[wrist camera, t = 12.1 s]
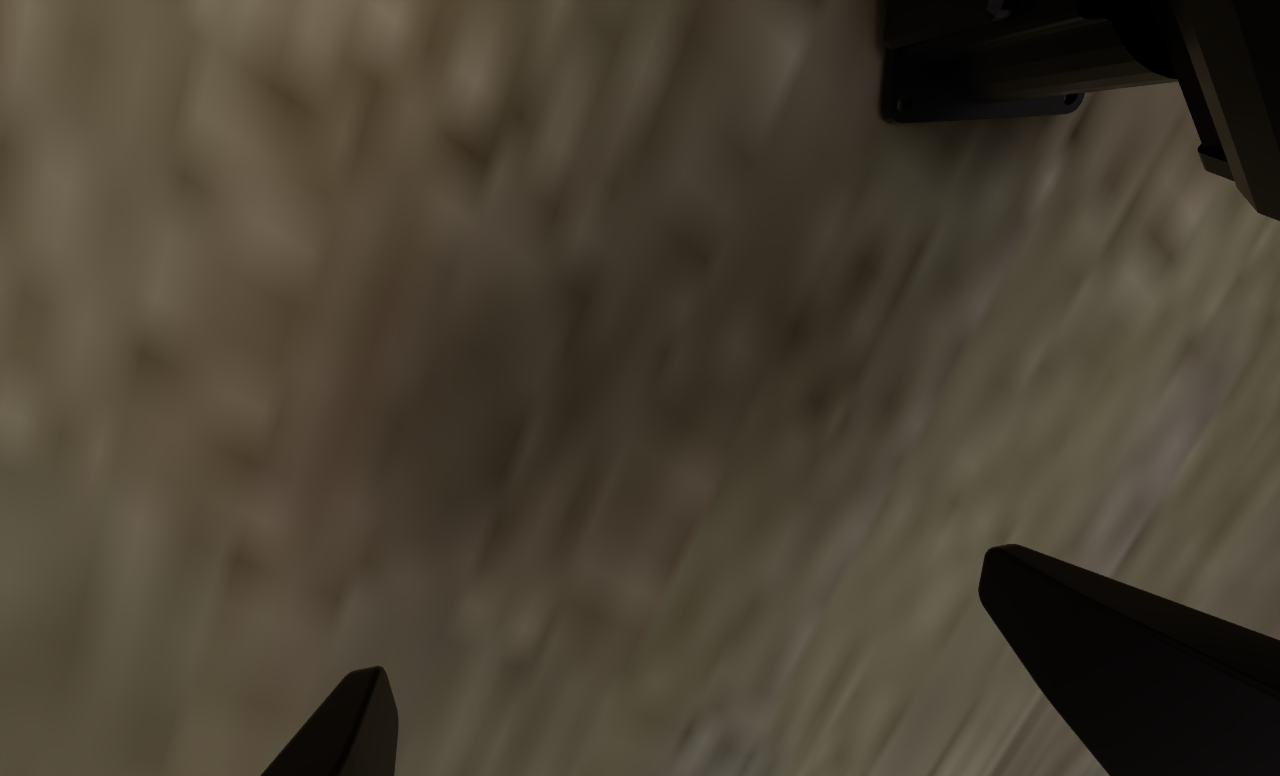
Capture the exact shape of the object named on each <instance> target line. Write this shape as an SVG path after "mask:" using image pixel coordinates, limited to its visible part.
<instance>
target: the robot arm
mask: <svg viewBox="0 0 1280 776" xmlns="http://www.w3.org/2000/svg"><path fill="white" fill-rule="evenodd" d="M884 41H885V43H886V56H885V68H884V79H883V91H882V103H881V110H882V115H883V117H884V119H885V120H886V121H887V122H889V123H892V124H905V123H922V122H939V121H957V120H974V119H991V118H1008V117H1026V116H1043V115H1059V114H1068V113H1071V112H1073V111H1075V110H1076V109H1077V108H1078V107H1079V105H1080V104H1081V103H1082V100H1083V98H1084V95H1085V92H1093V91H1101V90H1110V89H1118V88H1127V87H1135V86H1144V85H1152V84H1161V83H1170V82H1178V81H1179V84H1180V87H1181V89H1182V92H1183V95H1184V97H1185V100H1186V103H1187V105H1188V108H1189V111H1190V113H1191V116H1192V119H1193V121H1194V124H1195V127H1196V129H1197V132H1198V135H1199V137H1200V140H1201V143H1202V144H1201V145H1200V146H1199V147H1198V153H1199V156H1200V158H1201V161H1202V164H1203V166H1204V169H1205V170H1206V171H1208V172H1211V173H1214V174H1216V175H1219V176H1222V177H1225V178H1227V179H1230V180H1233V181H1235V183H1236V186H1237V188H1238V190H1239V191H1240V192H1241V193H1242V194H1243V196H1244V197H1245V198H1246V199H1247V200H1248V202H1249V203H1250V204H1251V205H1252V206H1253V207H1254V209H1255V210H1256V211H1257V212H1258V213H1260V214H1263V215H1265V216H1268V217H1270V218H1273V219H1276V220H1278V221H1280V0H887V6H886V18H885V29H884ZM1063 95H1066V99H1065V101H1064V102H1063ZM900 97H902V98H903V99H904V102H905V106H904V109H903V111H902V112H901V113H900V112H899V111H898V109H897V103H898V100H899V98H900ZM978 592H979V597H980V600H981V603H982V605H983V606H984V608H985V610H986V611H987V612H988V614H989V615H990V617H991V618H992V620H993V621H994V623H995V624H996V626H997V627H998V629H999V630H1000V631H1001V633H1002V634H1003V636H1004V637H1005V639H1006V640H1007V642H1008V643H1009V645H1010V646H1011V647H1012V649H1013V650H1014V652H1015V653H1016V655H1017V656H1018V658H1019V659H1020V661H1021V662H1022V663H1023V665H1024V666H1025V668H1026V669H1027V671H1028V672H1029V674H1030V675H1031V677H1032V678H1033V680H1034V681H1035V682H1036V684H1037V685H1038V687H1039V688H1040V689H1041V691H1042V692H1043V693H1044V695H1045V696H1046V698H1047V699H1048V700H1049V701H1050V703H1051V704H1052V705H1053V707H1054V708H1055V709H1056V710H1057V712H1058V713H1059V714H1060V715H1061V717H1062V718H1063V719H1064V720H1065V721H1066V723H1067V724H1068V725H1069V726H1070V728H1071V729H1072V730H1073V731H1074V732H1075V734H1076V735H1077V736H1078V737H1079V739H1080V740H1081V741H1082V742H1083V744H1084V745H1085V746H1086V747H1087V748H1088V750H1089V751H1090V752H1091V753H1092V755H1093V756H1094V757H1095V758H1096V759H1097V761H1098V762H1099V763H1100V764H1101V766H1102V767H1103V768H1104V769H1105V771H1106V772H1107V773H1108V774H1109V775H1110V776H1280V640H1277V639H1275V638H1272V637H1269V636H1267V635H1264V634H1261V633H1258V632H1256V631H1253V630H1250V629H1247V628H1245V627H1242V626H1239V625H1236V624H1234V623H1231V622H1228V621H1226V620H1223V619H1220V618H1217V617H1215V616H1212V615H1209V614H1206V613H1204V612H1201V611H1198V610H1195V609H1193V608H1190V607H1187V606H1185V605H1182V604H1179V603H1176V602H1174V601H1171V600H1168V599H1165V598H1163V597H1160V596H1157V595H1155V594H1152V593H1149V592H1146V591H1144V590H1141V589H1138V588H1135V587H1133V586H1130V585H1127V584H1124V583H1122V582H1119V581H1116V580H1114V579H1111V578H1108V577H1105V576H1103V575H1100V574H1097V573H1094V572H1092V571H1089V570H1086V569H1084V568H1081V567H1078V566H1075V565H1073V564H1070V563H1067V562H1064V561H1062V560H1059V559H1056V558H1053V557H1051V556H1048V555H1045V554H1043V553H1040V552H1037V551H1034V550H1032V549H1029V548H1026V547H1023V546H1021V545H1018V544H1007V545H1001V546H996V547H992V548H990V549H988V551H987V552H986V554H985V557H984V562H983V567H982V572H981V577H980V582H979V588H978ZM397 738H398V712H397V707H396V704H395V701H394V697H393V694H392V690H391V687H390V683H389V680H388V677H387V674H386V671H385V670H384V668H383V667H380V666H375V667H370V668H365V669H360V670H355V671H352V672H350V673H349V674H347V675H346V676H345V677H344V678H343V679H342V681H341V682H340V683H339V684H338V685H337V686H336V688H335V689H334V690H333V691H332V692H331V693H330V695H329V696H328V697H327V698H326V699H325V701H324V702H323V703H322V704H321V705H320V706H319V708H318V709H317V710H316V711H315V712H314V713H313V715H312V716H311V717H310V718H309V719H308V720H307V722H306V723H305V724H304V725H303V726H302V727H301V729H300V730H299V731H298V732H297V733H296V735H295V736H294V737H293V738H292V739H291V740H290V742H289V743H288V744H287V745H286V746H285V747H284V749H283V750H282V751H281V752H280V753H279V754H278V756H277V757H276V758H275V759H274V760H273V761H272V763H271V764H270V765H269V766H268V767H267V769H266V770H265V771H264V772H263V773H262V774H261V776H394V771H395V760H396V749H397Z"/></svg>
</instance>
